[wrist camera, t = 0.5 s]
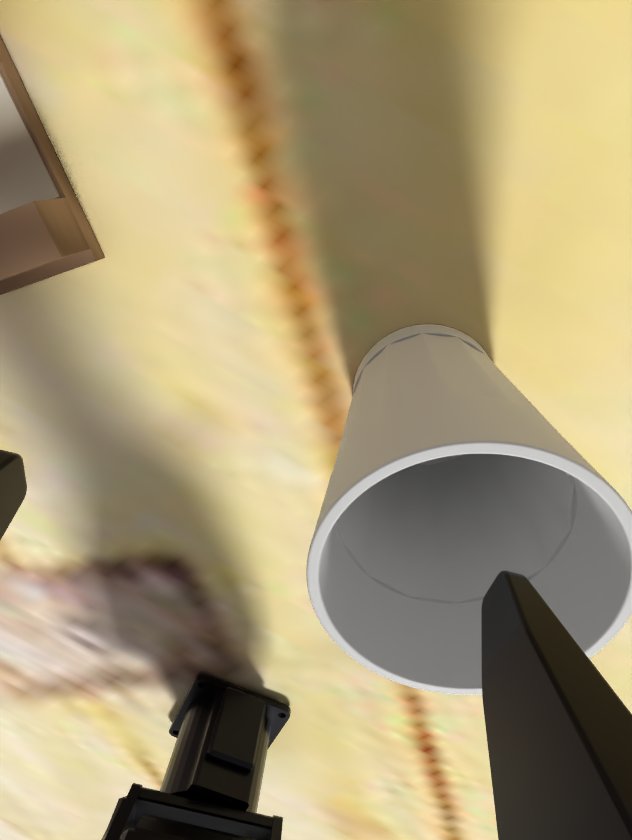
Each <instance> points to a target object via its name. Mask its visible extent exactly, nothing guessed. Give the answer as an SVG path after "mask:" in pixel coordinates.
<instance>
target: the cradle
mask: <svg viewBox="0 0 632 840" xmlns="http://www.w3.org/2000/svg"><path fill="white" fill-rule="evenodd" d="M103 258H105V257H104V255H103V253H102V251H101V248H100V246H99V244H98V242H97V240H96V238H95V236H94V234H93V231H92V229H91V227H90V225H89V223H88V221H87V219H86V217H85V215H84V212H83V210H82V208H81V206H80V204H79V202H78V200H77V198H76V195H75V193H74V191H73V189H72V187H71V185H70V183H69V181H68V178H67V176H66V174H65V172H64V170H63V168H62V166H61V164H60V161H59V159H58V157H57V155H56V153H55V151H54V149H53V147H52V144H51V142H50V140H49V138H48V136H47V134H46V132H45V130H44V127H43V125H42V123H41V121H40V119H39V117H38V115H37V113H36V110H35V108H34V106H33V104H32V102H31V100H30V98H29V96H28V93H27V91H26V89H25V87H24V85H23V83H22V81H21V79H20V77H19V74H18V72H17V70H16V68H15V66H14V64H13V62H12V60H11V57H10V55H9V53H8V51H7V49H6V47H5V45H4V43H3V40H2V38H1V36H0V295H1V294H4V293H7V292H10V291H12V290H15V289H18V288H21V287H24V286H26V285H29V284H32V283H35V282H38V281H41V280H43V279H46V278H49V277H52V276H55V275H58V274H60V273H63V272H66V271H69V270H72V269H74V268H77V267H80V266H83V265H86V264H89V263H91V262H94V261H97V260H100V259H103Z"/></svg>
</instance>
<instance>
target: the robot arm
mask: <svg viewBox="0 0 632 840" xmlns="http://www.w3.org/2000/svg"><path fill="white" fill-rule="evenodd" d="M26 491H27V484H26V477H25V471H24V464H23V459H22V457H21V456H20V455H19V454H17V453H12V452H8V451H4V450H0V540H1V538H2V536H3V535H4V533H5V531H6V530H7V528H8V526H9V524H10V523H11V521H12V519H13V517H14V516H15V514H16V512H17V510H18V509H19V507H20V505H21V504H22V502H23V500H24V498H25V495H26ZM481 656H482V695H483V706H484V715H485V724H486V732H487V741H488V750H489V759H490V768H491V777H492V786H493V794H494V803H495V812H496V821H497V830H498V839H499V840H632V714H631V713H630V711H629V710H628V709H627V708H626V706H625V705H624V704H623V702H622V701H621V700H620V698H619V697H618V696H617V695H616V693H615V692H614V691H613V689H612V688H611V687H610V685H609V684H608V683H607V682H606V680H605V679H604V678H603V676H602V675H601V674H600V672H599V671H598V670H597V668H596V667H595V666H594V665H593V663H592V662H591V661H590V659H589V658H588V657H587V655H586V654H585V653H584V652H583V650H582V649H581V648H580V646H579V645H578V644H577V642H576V641H575V640H574V639H573V637H572V636H571V635H570V633H569V632H568V631H567V629H566V628H565V627H564V625H563V624H562V623H561V622H560V620H559V619H558V618H557V616H556V615H555V614H554V612H553V611H552V610H551V609H550V607H549V606H548V605H547V603H546V602H545V601H544V599H543V598H542V597H541V595H540V594H539V593H538V592H537V590H536V589H535V588H534V586H533V585H532V584H531V582H530V581H529V580H528V579H527V578H526V577H525V576H524V575H522V574H518V573H514V572H510V571H501V572H500V573H499V574H498V575H497V577H496V578H495V580H494V581H493V583H492V585H491V586H490V588H489V589H488V591H487V593H486V594H485V596H484V598H483V601H482V607H481ZM290 711H291V710H290V708H289V707H288V706H287V705H284V704H282V703H279V702H276V701H274V700H271V699H268V698H266V697H263V696H260V695H258V694H255V693H253V692H250V691H247V690H245V689H242V688H239V687H237V686H234V685H231V684H229V683H226V682H223V681H221V680H218V679H215V678H213V677H210V676H208V675H204V674H200V675H197V676H196V678H195V680H194V682H193V684H192V686H191V688H190V690H189V692H188V694H187V695H186V697H185V699H184V701H183V703H182V705H181V707H180V709H179V711H178V713H177V715H176V717H175V719H174V721H173V722H172V724H171V727H170V730H169V733H170V734H171V735H172V736H174V737H176V738H177V741H176V744H175V747H174V750H173V753H172V756H171V759H170V762H169V765H168V768H167V771H166V774H165V777H164V780H163V783H162V786H161V789H160V791H157V790H153V789H148V788H144V787H142V785H140V784H135V783H133V784H132V786H131V789H130V791H129V793H128V795H127V796H126V797H123V798H120V799H119V800H118V803H117V805H116V808H115V810H114V813H113V815H112V818H111V820H110V823H109V825H108V828H107V830H106V832H105V834H104V836H103V838H102V840H281V833H282V821H283V817H279V816H275V815H273V817H270V816H266V815H262V814H257V813H256V812H257V806H258V800H259V795H260V789H261V783H262V777H263V772H264V766H265V760H266V755H267V749H268V748H269V747H270V745H271V744H272V742H273V741H274V739H275V738H276V736H277V735H278V734H279V732H280V731H281V729H282V728H283V726H284V725H285V723H286V722H287V721H288V719H289V717H290Z"/></svg>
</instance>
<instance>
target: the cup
mask: <svg viewBox="0 0 632 840" xmlns="http://www.w3.org/2000/svg"><path fill="white" fill-rule="evenodd" d="M501 571H510V572H514V573H518V574H522V575H524V576H525V577H526V578H527V579H528V580H529V581H530V582H531V584H532V585H533V586H534V588H535V589H536V590H537V592H538V593H539V594H540V595H541V597H542V598H543V599H544V601H545V602H546V603H547V605H548V606H549V607H550V609H551V610H552V611H553V612H554V614H555V615H556V616H557V618H558V619H559V620H560V622H561V623H562V624H563V625H564V627H565V628H566V629H567V631H568V632H569V633H570V635H571V636H572V637H573V639H574V640H575V641H576V642H577V644H578V645H579V646H580V648H581V649H582V650H583V652H584V653H585V654H586V655H587V657H588V658H589V659H590V658H591V657H592V656H594V655H595V654H596V653H598V652H599V651H600V650H601V649H602V648H603V647H605V646H606V645H607V644H608V643H609V642H610V641H611V640H612V639H613V638H614V637H615V636H616V634H617V633H618V632H619V631H620V630H621V628H622V627H623V626H624V625H625V623H626V622H627V620H628V619H629V617H630V615H631V614H632V511H631V510H630V508H629V507H628V505H627V504H626V502H625V501H624V500H623V498H622V497H621V496H620V495H619V493H618V492H617V491H616V490H615V489H614V488H613V487H612V486H611V485H610V484H609V483H608V482H607V481H606V480H605V479H604V478H603V477H602V476H601V475H600V474H599V473H598V472H597V471H596V470H595V469H594V468H593V467H592V466H591V465H590V464H589V463H588V462H587V461H586V460H585V459H584V458H583V457H582V456H581V455H580V454H579V453H578V452H577V451H576V450H575V449H574V448H573V447H572V446H571V445H570V444H569V443H568V442H567V441H566V440H565V439H564V438H563V437H562V435H561V434H560V433H559V432H558V431H557V430H556V429H555V428H554V427H553V426H552V425H551V424H550V423H549V422H548V421H547V420H546V419H545V418H544V416H543V415H542V414H541V413H540V412H539V411H538V410H537V409H536V408H535V407H534V406H533V405H532V404H531V403H530V402H529V401H528V399H527V398H526V397H525V396H524V395H523V394H522V393H521V392H520V391H519V390H518V389H517V388H516V387H515V386H514V385H513V383H512V382H511V381H510V380H509V379H508V378H507V377H506V376H505V375H504V374H503V373H502V372H501V371H500V370H499V369H498V367H497V366H496V365H495V364H494V363H493V362H492V361H491V360H490V358H489V357H488V355H487V354H486V352H485V351H484V350H483V348H482V347H481V346H480V345H479V344H478V343H477V342H476V341H475V340H474V339H472V338H471V337H469V336H468V335H466V334H465V333H463V332H461V331H459V330H456V329H454V328H451V327H447V326H443V325H436V324H421V325H414V326H409V327H405V328H402V329H400V330H397V331H395V332H393V333H391V334H389V335H387V336H386V337H384V338H383V339H381V340H380V341H379V342H377V343H376V344H375V345H374V346H373V347H372V348H371V349H370V350H369V351H368V353H367V354H366V355H365V357H364V358H363V360H362V361H361V363H360V365H359V367H358V370H357V372H356V375H355V379H354V385H353V397H352V401H351V405H350V408H349V412H348V416H347V420H346V424H345V427H344V431H343V435H342V439H341V443H340V446H339V450H338V454H337V458H336V462H335V465H334V469H333V472H332V474H331V477H330V481H329V484H328V488H327V491H326V494H325V498H324V501H323V504H322V508H321V511H320V515H319V518H318V521H317V525H316V528H315V532H314V535H313V538H312V542H311V545H310V549H309V553H308V559H307V586H308V592H309V596H310V600H311V603H312V606H313V609H314V611H315V613H316V615H317V617H318V619H319V621H320V623H321V625H322V626H323V628H324V629H325V631H326V632H327V633H328V635H329V636H330V637H331V638H332V640H333V641H334V642H335V643H336V644H337V645H338V646H339V647H340V648H341V649H342V650H343V651H344V652H345V653H346V654H348V655H349V656H350V657H351V658H353V659H354V660H355V661H357V662H358V663H360V664H361V665H363V666H364V667H366V668H367V669H369V670H371V671H373V672H374V673H376V674H378V675H380V676H383V677H385V678H387V679H389V680H392V681H394V682H397V683H400V684H403V685H406V686H409V687H413V688H417V689H421V690H426V691H431V692H437V693H445V694H458V695H480V694H482V656H481V607H482V601H483V598H484V596H485V594H486V593H487V591H488V589H489V588H490V586H491V585H492V583H493V581H494V580H495V578H496V577H497V575H498V574H499V573H500V572H501Z"/></svg>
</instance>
